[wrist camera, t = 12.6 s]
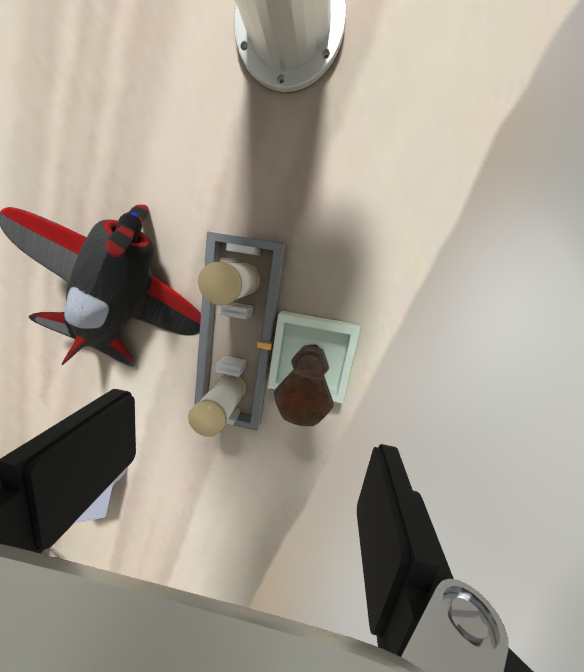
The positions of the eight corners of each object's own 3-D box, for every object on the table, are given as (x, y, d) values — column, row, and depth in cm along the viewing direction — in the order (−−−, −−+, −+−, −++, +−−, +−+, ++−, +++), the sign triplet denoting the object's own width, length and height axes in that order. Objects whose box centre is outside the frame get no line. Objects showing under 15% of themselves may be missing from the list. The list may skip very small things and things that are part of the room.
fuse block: (199, 410, 45) (189, 421, 42) (213, 233, 38) (202, 230, 35) (262, 423, 45) (256, 436, 41) (288, 245, 37) (284, 243, 34)
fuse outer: (220, 370, 43) (189, 399, 34) (248, 376, 43) (225, 407, 33) (217, 396, 44) (187, 432, 35) (245, 402, 44) (222, 439, 34)
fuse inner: (230, 260, 39) (199, 259, 29) (261, 264, 38) (241, 265, 29) (228, 293, 40) (197, 301, 30) (258, 297, 40) (237, 307, 30)
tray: (281, 310, 40) (278, 313, 37) (357, 324, 39) (360, 328, 36) (271, 379, 42) (267, 387, 40) (341, 394, 42) (342, 403, 39)
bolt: (335, 366, 40) (338, 422, 26) (302, 375, 41) (288, 434, 27) (322, 329, 39) (318, 366, 24) (289, 340, 40) (267, 381, 26)
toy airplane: (29, 277, 45) (-74, 324, 33) (56, 133, 34) (-84, 121, 22) (184, 356, 54) (150, 417, 41) (245, 260, 43) (223, 304, 30)
